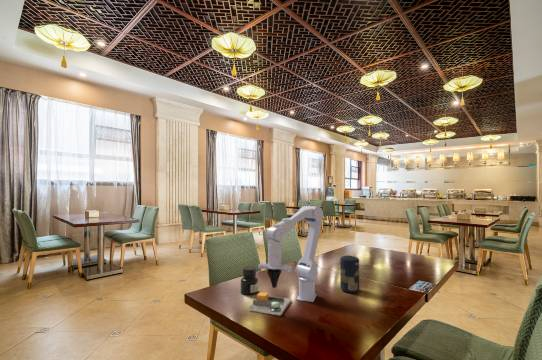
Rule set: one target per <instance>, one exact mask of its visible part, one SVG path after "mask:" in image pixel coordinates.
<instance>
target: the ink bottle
mask: <svg viewBox="0 0 542 360" xmlns="http://www.w3.org/2000/svg"><path fill="white" fill-rule="evenodd" d="M258 291H259V278H258V277H257V268H256V266H245V267H242V277H241V278H240V293H241V294H242V295H245V296H253V295H257V294H258V293H259V292H258Z"/></svg>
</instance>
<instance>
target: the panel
mask: <svg viewBox="0 0 542 360" xmlns="http://www.w3.org/2000/svg"><path fill="white" fill-rule="evenodd" d="M272 302H279V307H277V308H273V307H272V306H271V304H272ZM291 302H292V298H290V297H289V298H288V297H281V296H274V295H268V301H267V302H266V301H259V300H257V299H253V301H252V304H251V306H250V307H249V311H250V312H253V313H254V312H255V313H261V314H268V315H272V316H278V317H280V316H282V315H283V313H284V312H285V310H286V309H287V307H288V306H289V305H290V303H291Z"/></svg>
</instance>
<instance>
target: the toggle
mask: <svg viewBox="0 0 542 360" xmlns="http://www.w3.org/2000/svg"><path fill="white" fill-rule="evenodd" d="M268 296H269V293H268V292H264V291H262V292H261V291H260V292H258V293H257V294H256V300H259V301H266V302H267V301H268Z"/></svg>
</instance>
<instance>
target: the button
mask: <svg viewBox="0 0 542 360" xmlns="http://www.w3.org/2000/svg"><path fill="white" fill-rule="evenodd" d="M271 306H272V307H273V308H277V307H279V302H272V304H271Z"/></svg>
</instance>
